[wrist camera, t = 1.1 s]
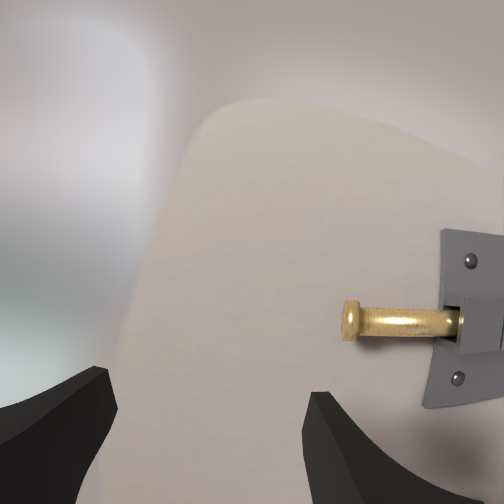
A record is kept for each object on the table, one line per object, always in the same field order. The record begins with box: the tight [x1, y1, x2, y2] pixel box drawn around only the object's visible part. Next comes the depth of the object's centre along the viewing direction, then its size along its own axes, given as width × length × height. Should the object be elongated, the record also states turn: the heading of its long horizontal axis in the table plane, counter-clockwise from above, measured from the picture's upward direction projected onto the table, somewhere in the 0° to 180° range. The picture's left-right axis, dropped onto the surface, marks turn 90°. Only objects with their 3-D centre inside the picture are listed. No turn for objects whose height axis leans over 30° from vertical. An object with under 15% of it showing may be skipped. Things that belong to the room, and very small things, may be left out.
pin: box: [341, 300, 460, 341], centre depth 16 cm, size 3×14×3 cm, turn 84°
